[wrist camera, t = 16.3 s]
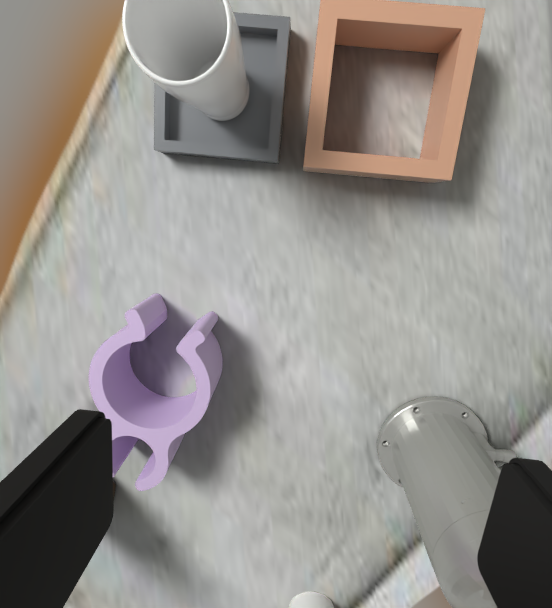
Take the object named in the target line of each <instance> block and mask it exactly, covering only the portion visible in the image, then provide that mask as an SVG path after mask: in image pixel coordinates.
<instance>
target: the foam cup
mask: <svg viewBox="0 0 552 608" xmlns="http://www.w3.org/2000/svg"><path fill="white" fill-rule="evenodd" d="M289 608H334V606H333V604H332V601H331V600H330V599H329V598H328V597H326V596H325V595H324V594H321V593H318V592H314V591H312V592H303V593H301V594H298V595H296V596H295V597H294V598H293V599H292V601H291V602H290V606H289Z"/></svg>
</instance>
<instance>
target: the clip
mask: <svg viewBox="0 0 552 608" xmlns="http://www.w3.org/2000/svg"><path fill="white" fill-rule="evenodd" d="M125 318H126V320H127V322H128V325H126V326H125V327H123V328H122V329H121V330H119V331H118V332H117V333H115V334H114V335H113V336H111V337H110V338H108V339H107V340H106V341H105V342H104V343H103V344H102V345H101V346H100V347H99V348H98V350H97V351H96V353H95V355H94V357H93V359H92V361H91V364H90V369H89V387H90V391H91V395H92V398H93V400H94V402H95V404H96V406H97V408H98V409H99V411H100V412H103V413H104V414H105V418H106V419H110V420H111V423H112V461H113V477H114V476H115V474H116V473H117V471H118V470H119V468H120V467H121V465H122V464H123V462H124V461H125V459H126V458H127V456H128V455H129V453H130V452H131V450H132V448H133V447H134V445H135V444H136V442H137V441H138V438H139V439H141V440H143V441H144V442H146V443H147V444H148V445H149V446H150V447H151V449H152V450H153V453H152V454H151V456H150V458H149V460H148V461H147V463H146V465H145V467H144V468H143V470H142V472H141V474H140V475H139V477H138V479H137V481H136V482H135V486H136V489H137V490H139V491H144V490H148V489H150V488H152V487H154V486H156V485H157V484H159V483H160V482H161V481H162V479H163V478H164V476H165V475H166V473H167V471H168V468H169V466H170V464H171V462H172V460H173V458H174V456H175V454H176V452H177V450H178V448H179V446H180V444H181V441H182V439H183V437H184V435H185V433H186V432H188V431H189V430H191V429H192V428H193V427H194V426H195V425H196V424H197V423H198V422H199V421H200V420H201V418H202V417H203V415H204V413H205V411H206V409H207V407H208V405H209V402H210V400H211V398H212V396H213V393H214V391H215V389H216V386H217V384H218V382H219V379H220V377H221V373H222V367H223V359H222V352H221V349H220V346H219V343H218V341H217V339H216V337H215V336H214V334H213V333H212V331H211V330H212V328H213V327H214V325H215V324H216V322H217V321H218V316H217V314H216V313H215V312H213V311H211V312H209V313H207V314H206V315H204V316H203V317H201V318H200V319H198V321H197V322H196V323H195V324H194V325H193V327H192V328H191V329H190V330H189V331H188V333H187V334H186V335H185V336H184V337H183V339H182V340H181V341H180V343H179V344H178V345H177V347H176V351H177V353H178V354H180V355H181V356H182V357H183V358H184V359H185V360H186V362H187V363H188V364H189V366H190V368H191V369H192V371H193V374H194V377H195V380H196V386H197V390H196V391H195V392H193V393H191V394H189V395H186V396H182V397H166V396H162V395H159V394H156V393H154V392H152V391H150V390H149V389H147V388H146V387H145V386H144V385H143V384H142V383H141V382H140V381H139V380H138V379H137V377H136V376H135V374H134V372H133V370H132V367H131V363H130V348H131V344H132V342H138V341H143V340H144V339H145V338H146V337H147V336H149V335H150V334H151V333H152V332H153V331H154V330H155V329H156V328H157V327H159V326H160V325H161V324H162V323H163V322H164V321H165V320H166V319H167V308H166V305H165V303H164V301H163V298H162V296H161V295H160V294H158V293H156V294H153V295H151V296H150V297H148V298H147V299H145V300H143V301H142V302H140V303H139V304H137V305H136V306H134V307H133V308H131V309H130V310H128V311H127V312H126V313H125Z"/></svg>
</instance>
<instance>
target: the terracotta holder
mask: <svg viewBox="0 0 552 608" xmlns="http://www.w3.org/2000/svg"><path fill="white" fill-rule="evenodd" d="M484 13H485V8H474V7H461V6H449V5H436V4H424V3H411V2H398V1H386V0H321V1H320V10H319V19H318V28H317V37H316V47H315V57H314V66H313V76H312V86H311V96H310V105H309V115H308V125H307V134H306V144H305V154H304V163H303V171H307V172H318V173H329V174H340V175H351V176H361V177H372V178H383V179H394V180H405V181H415V182H426V183H434V182H442V181H449V180H452V175H453V170H454V165H455V160H456V155H457V150H458V145H459V140H460V134H461V129H462V124H463V119H464V114H465V109H466V104H467V99H468V94H469V89H470V84H471V79H472V74H473V69H474V64H475V59H476V54H477V49H478V43H479V38H480V33H481V28H482V23H483V18H484ZM334 45H343V46H355V47H367V48H379V49H391V50H403V51H415V52H427V53H438V59H437V64H436V70H435V76H434V82H433V87H432V93H431V99H430V104H429V110H428V116H427V121H426V127H425V133H424V139H423V144H422V150H421V156H420V159H415V158H404V157H393V156H382V155H371V154H360V153H349V152H338V151H327V150H323V141H324V132H325V123H326V115H327V106H328V97H329V88H330V80H331V71H332V62H333V53H334Z"/></svg>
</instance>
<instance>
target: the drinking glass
mask: <svg viewBox="0 0 552 608" xmlns="http://www.w3.org/2000/svg"><path fill="white" fill-rule="evenodd" d="M122 23H123V32H124V37H125V41H126V44H127V47H128V49H129V51H130V53H131V55H132V57H133V59H134V60H135V62H136V63H137V64H138V66H139V67H140V68H141V69H142V70H143V71H144V72H145V73H146V74H147V75H148V76H149V77H150V78H151V79H152V80H153V81H154V82H155V83H156V84H157V85H158V86H159V87H160V88H162V89H163V90H164V91H166V92H167V93H168V94H170V95H171V96H173V97H174V98H176V99H178V100H180V101H182V102H184V103H186V104H188V105H190V106H192V107H193V108H195V109H197V110H199V111H201V112H203V113H204V114H205V115H206V116H208V117H209V118H211V119H214V120H218V121H227V120H231V119H233V118H235V117H237V116H238V115H239V114H240V113H241V112H242V111H243V110H244V108H245V107H246V105H247V102H248V99H249V92H250V89H249V82H248V78H247V76H246V69H245V61H244V53H243V46H242V40H241V35H240V31H239V28H238V24H237V21H236V18H235V16H234V13H233V11H232V8H231V6H230V4H229V1H228V0H125V2H124V7H123V16H122Z"/></svg>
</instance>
